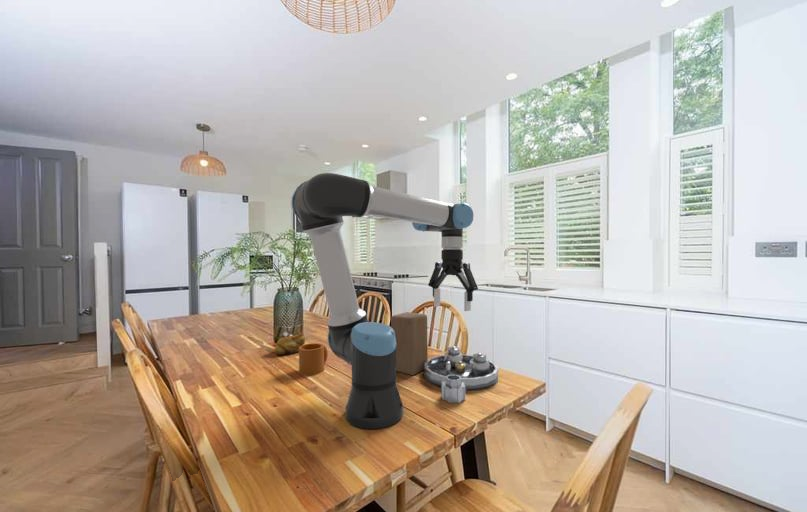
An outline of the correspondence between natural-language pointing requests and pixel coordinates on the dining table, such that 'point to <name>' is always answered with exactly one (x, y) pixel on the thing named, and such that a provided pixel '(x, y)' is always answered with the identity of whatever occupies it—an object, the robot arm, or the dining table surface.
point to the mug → (312, 358)
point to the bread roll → (289, 344)
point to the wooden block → (410, 342)
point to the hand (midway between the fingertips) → (451, 308)
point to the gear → (453, 389)
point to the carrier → (462, 369)
